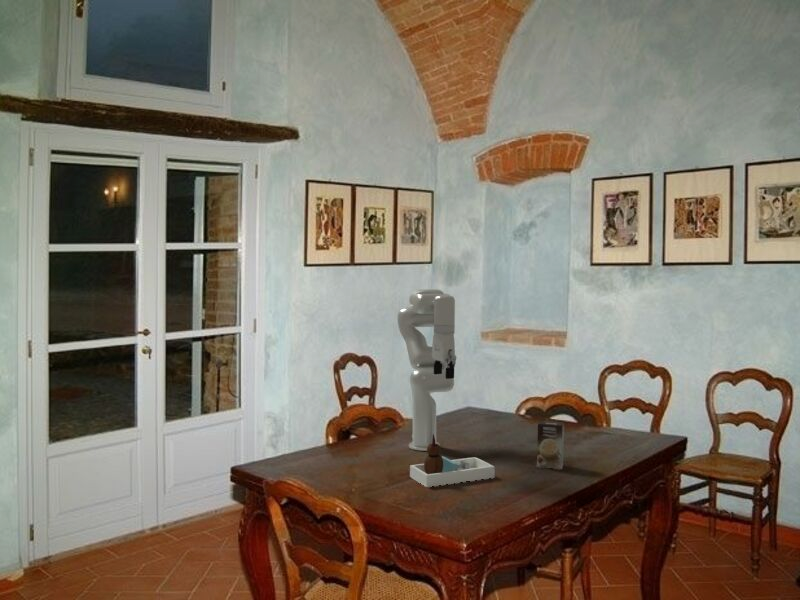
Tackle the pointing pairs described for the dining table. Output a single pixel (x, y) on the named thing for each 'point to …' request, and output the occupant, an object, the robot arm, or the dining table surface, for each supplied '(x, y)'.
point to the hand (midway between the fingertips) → (443, 376)
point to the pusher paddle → (453, 465)
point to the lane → (454, 473)
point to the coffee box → (550, 444)
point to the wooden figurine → (433, 459)
